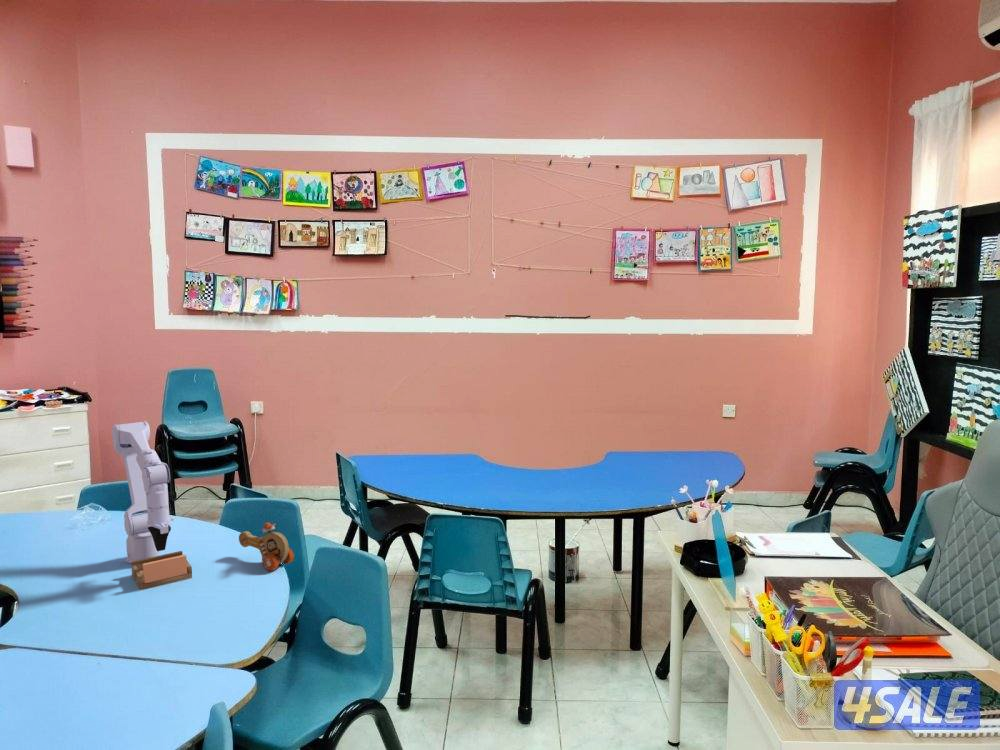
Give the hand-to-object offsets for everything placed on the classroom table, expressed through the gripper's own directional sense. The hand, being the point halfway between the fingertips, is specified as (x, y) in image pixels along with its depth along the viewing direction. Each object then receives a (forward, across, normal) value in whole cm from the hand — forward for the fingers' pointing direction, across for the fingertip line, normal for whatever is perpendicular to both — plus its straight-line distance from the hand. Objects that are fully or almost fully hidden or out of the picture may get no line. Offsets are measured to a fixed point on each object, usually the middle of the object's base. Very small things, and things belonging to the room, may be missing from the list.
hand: (160, 549), depth 204 cm
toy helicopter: (+9, -7, -28) cm, 31 cm away
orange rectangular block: (+7, -5, 0) cm, 9 cm away
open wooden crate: (+9, +1, 0) cm, 9 cm away
